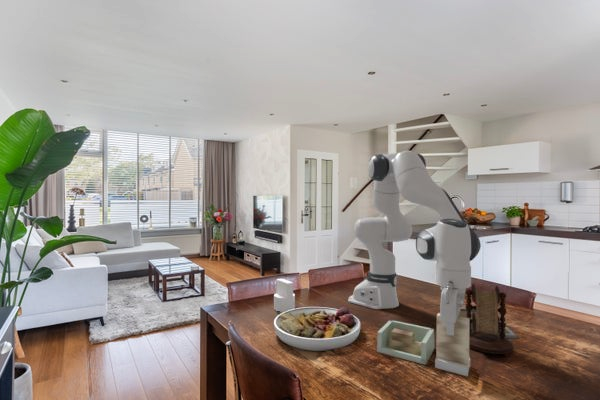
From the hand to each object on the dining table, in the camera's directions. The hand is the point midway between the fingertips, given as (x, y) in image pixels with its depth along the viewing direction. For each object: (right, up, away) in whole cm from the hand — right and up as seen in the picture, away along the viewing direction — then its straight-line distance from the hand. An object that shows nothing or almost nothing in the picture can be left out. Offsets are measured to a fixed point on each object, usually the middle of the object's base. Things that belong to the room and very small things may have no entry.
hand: (452, 328), depth 90 cm
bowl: (-36, -12, +24) cm, 45 cm away
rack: (-10, -12, +10) cm, 18 cm away
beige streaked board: (0, -11, 0) cm, 11 cm away
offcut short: (-11, -8, +10) cm, 17 cm away
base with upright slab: (-49, -12, +50) cm, 71 cm away
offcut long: (-10, -11, +9) cm, 17 cm away
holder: (0, -12, 0) cm, 12 cm away
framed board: (+25, -12, +37) cm, 47 cm away
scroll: (+17, -12, +14) cm, 25 cm away
